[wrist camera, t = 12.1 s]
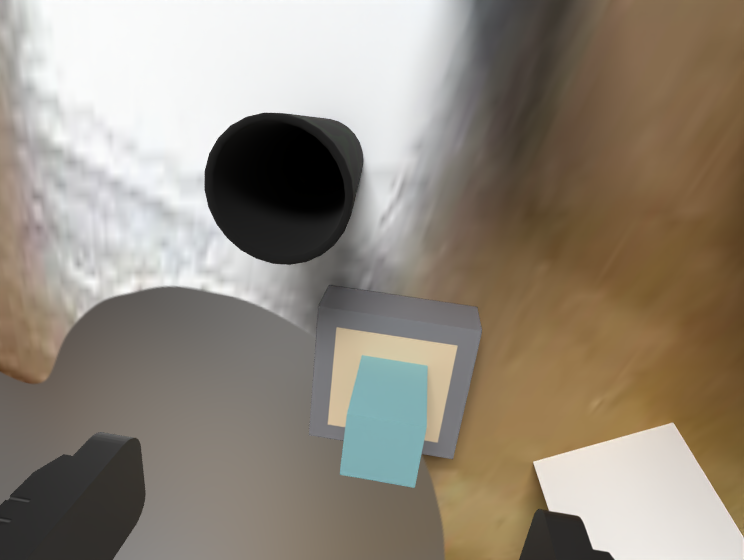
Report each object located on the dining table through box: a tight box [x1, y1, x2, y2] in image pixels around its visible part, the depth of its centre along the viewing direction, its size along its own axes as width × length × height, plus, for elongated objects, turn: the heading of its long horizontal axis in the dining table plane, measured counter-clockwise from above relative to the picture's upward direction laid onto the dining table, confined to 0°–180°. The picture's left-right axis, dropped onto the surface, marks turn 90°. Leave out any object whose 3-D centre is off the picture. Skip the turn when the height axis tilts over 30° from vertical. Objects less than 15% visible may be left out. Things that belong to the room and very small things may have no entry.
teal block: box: [340, 355, 428, 488], centre depth 34 cm, size 5×5×7 cm
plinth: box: [309, 285, 482, 459], centre depth 39 cm, size 12×12×4 cm
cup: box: [205, 113, 363, 265], centre depth 30 cm, size 8×8×12 cm
